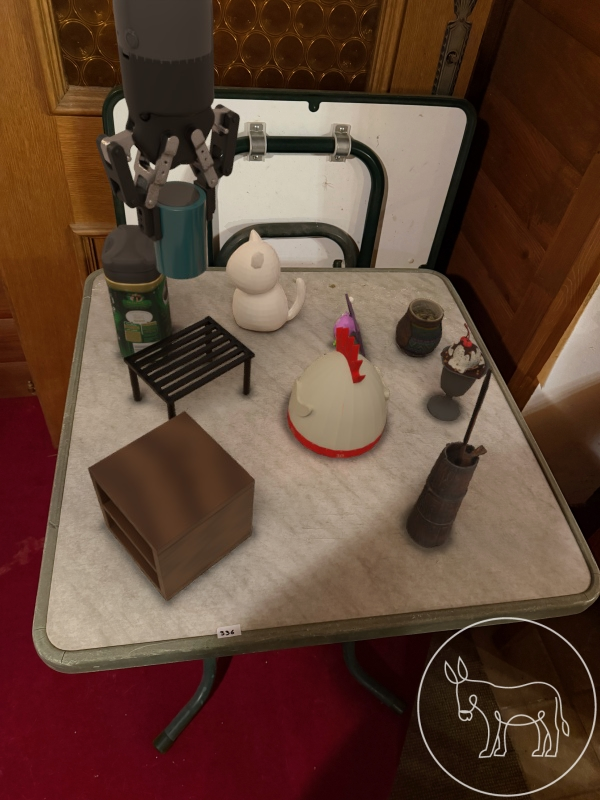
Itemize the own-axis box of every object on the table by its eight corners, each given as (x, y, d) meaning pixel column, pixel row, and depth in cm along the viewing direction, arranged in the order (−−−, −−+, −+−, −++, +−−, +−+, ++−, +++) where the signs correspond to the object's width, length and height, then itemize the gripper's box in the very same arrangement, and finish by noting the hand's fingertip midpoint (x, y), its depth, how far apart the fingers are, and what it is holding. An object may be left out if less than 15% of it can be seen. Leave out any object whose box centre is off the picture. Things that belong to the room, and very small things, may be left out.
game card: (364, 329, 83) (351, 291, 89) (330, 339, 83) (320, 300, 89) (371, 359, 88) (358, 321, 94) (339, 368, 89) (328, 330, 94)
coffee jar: (123, 322, 89) (104, 216, 75) (174, 323, 90) (165, 219, 76) (115, 366, 82) (93, 259, 68) (171, 366, 83) (159, 261, 69)
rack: (173, 442, 74) (168, 403, 68) (130, 398, 78) (122, 358, 73) (253, 393, 81) (255, 353, 75) (210, 355, 86) (209, 315, 80)
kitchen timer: (361, 376, 86) (381, 298, 75) (399, 446, 78) (428, 370, 66) (274, 391, 82) (282, 312, 71) (305, 467, 74) (319, 390, 63)
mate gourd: (432, 334, 94) (450, 286, 87) (439, 366, 89) (458, 317, 82) (390, 330, 94) (404, 281, 86) (394, 362, 89) (410, 313, 81)
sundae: (426, 386, 86) (456, 310, 75) (469, 400, 85) (506, 325, 74) (416, 415, 82) (446, 339, 70) (461, 431, 81) (499, 357, 69)
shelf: (166, 601, 60) (156, 550, 51) (106, 526, 65) (87, 467, 56) (251, 535, 67) (255, 479, 58) (189, 470, 72) (184, 410, 63)
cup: (175, 286, 58) (169, 215, 52) (144, 260, 60) (135, 190, 54) (218, 267, 61) (217, 198, 55) (187, 243, 63) (183, 174, 57)
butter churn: (462, 494, 73) (557, 335, 52) (478, 563, 67) (592, 413, 46) (393, 491, 73) (461, 328, 52) (402, 560, 66) (484, 406, 45)
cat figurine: (225, 302, 94) (225, 223, 83) (299, 303, 96) (308, 225, 85) (226, 339, 88) (226, 258, 77) (304, 339, 90) (316, 260, 79)
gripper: (209, 14, 50) (212, 191, 62) (57, 36, 42) (95, 232, 55) (265, 40, 47) (256, 222, 59) (110, 69, 39) (138, 270, 52)
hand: (178, 226), depth 57 cm, fingers closed on cup, 5 cm apart
